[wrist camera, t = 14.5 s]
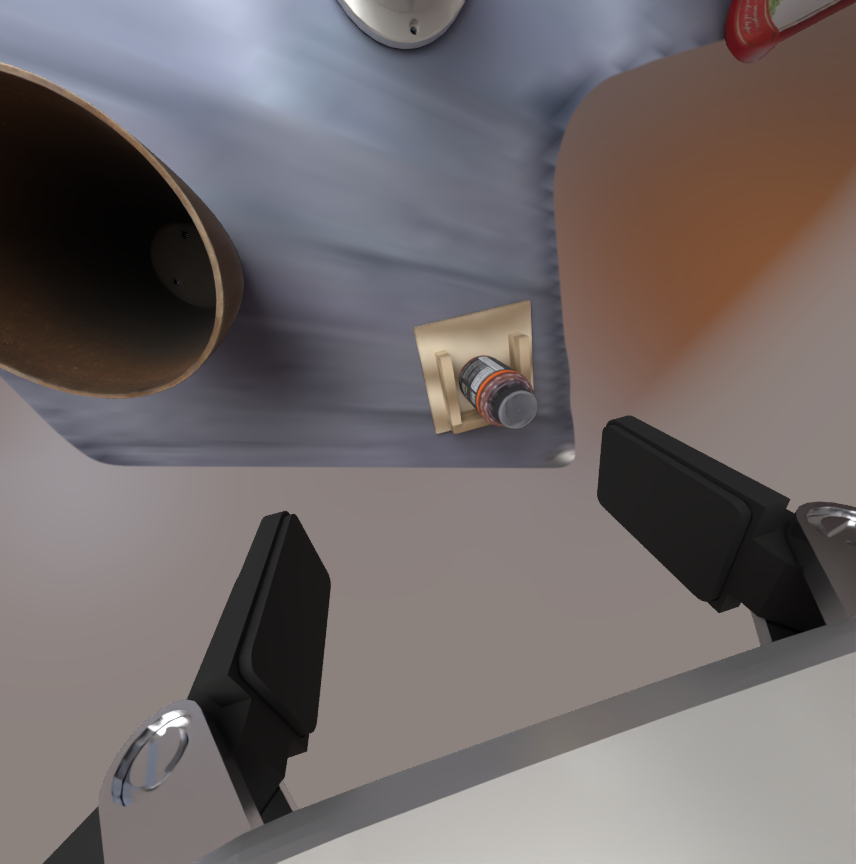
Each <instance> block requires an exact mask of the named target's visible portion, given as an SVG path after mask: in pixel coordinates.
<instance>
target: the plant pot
mask: <svg viewBox="0 0 856 864" xmlns="http://www.w3.org/2000/svg"><path fill="white" fill-rule="evenodd" d="M184 231H185V232H187V233H188V234H189V239H186V238H184V237H183V232H184ZM175 279H176V280H177V281H178V282H180V283H179V284H175V283H174V280H175ZM243 293H244V274H243V268H242V264H241V261H240V258H239V255H238V252H237V250H236V248H235V246H234V244H233V242H232V240H231V239H230V237H229V235H228V234H227V232H226V231H225V229H224V228H223V226H222V225H221V223H220V222H219V221H218V219H217V218H216V217H215V215H214V214H213V213H212V212H211V210H210V209H209V208H208V207H207V206H206V204H205V203H204V202H203V201H202V200H201V199H200V198H199V197H198V196H197V195H196V194H195V193H194V191H193V190H192V189H191V188H190V187H189V186H188V185H187V184H186V183H185V182H184V181H183V180H182V179H181V178H179V177H178V176H177V175H176V174H175V173H174V172H173V171H172V170H171V169H170V168H169V167H168V166H167V165H166V164H164V163H163V162H162V161H161V160H160V159H159V158H158V157H157V156H155V155H154V154H153V153H152V152H151V151H150V150H148V149H147V148H146V147H145V146H144V145H143V144H142V143H140V142H139V141H138V140H137V139H136V138H135V137H133V136H132V135H131V134H130V133H129V132H127V131H126V130H125V129H124V128H122V127H121V126H120V125H119V124H117V123H116V122H115V121H114V120H112V119H111V118H110V117H108V116H107V115H106V114H104V113H103V112H101V111H100V110H99V109H97V108H96V107H94V106H93V105H92V104H90V103H88V102H87V101H85V100H84V99H82V98H80V97H79V96H77V95H75V94H74V93H72V92H70V91H68V90H67V89H65V88H63V87H61V86H59V85H57V84H55V83H53V82H51V81H49V80H47V79H45V78H43V77H41V76H38V75H36V74H34V73H31V72H29V71H26V70H23V69H20V68H17V67H14V66H12V65H8V64H5V63H1V62H0V367H1V368H3V369H5V370H7V371H9V372H11V373H13V374H16V375H18V376H20V377H22V378H25V379H27V380H30V381H33V382H35V383H38V384H40V385H43V386H47V387H50V388H53V389H56V390H60V391H64V392H68V393H72V394H77V395H83V396H90V397H97V398H112V399H118V398H134V397H141V396H147V395H151V394H155V393H158V392H161V391H164V390H167V389H169V388H171V387H173V386H175V385H177V384H179V383H181V382H183V381H184V380H186V379H187V378H189V377H190V376H191V375H192V374H194V373H195V372H196V371H197V370H198V369H199V368H200V367H201V366H202V365H203V364H204V363H205V362H206V360H207V359H208V358H209V357H210V356H211V355H212V354H213V352H214V351H215V350H216V349H217V347H218V346H219V345H220V344H221V342H222V341H223V340H224V338H225V337H226V335H227V334H228V332H229V330H230V328H231V327H232V325H233V323H234V321H235V319H236V317H237V314H238V312H239V309H240V306H241V302H242V299H243Z"/></svg>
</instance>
